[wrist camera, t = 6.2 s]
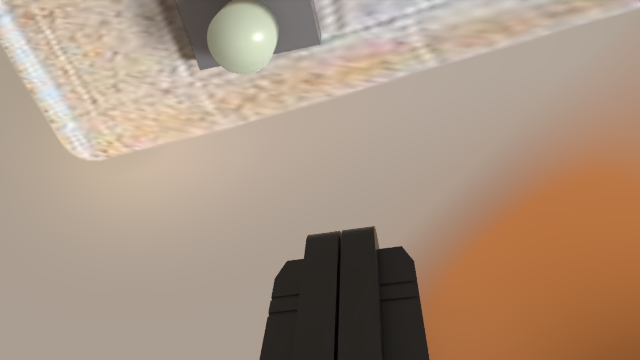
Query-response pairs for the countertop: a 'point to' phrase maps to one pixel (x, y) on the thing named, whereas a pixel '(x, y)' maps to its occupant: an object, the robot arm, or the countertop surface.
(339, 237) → the robot arm
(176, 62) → the countertop surface
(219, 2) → the button panel
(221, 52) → the sage button
